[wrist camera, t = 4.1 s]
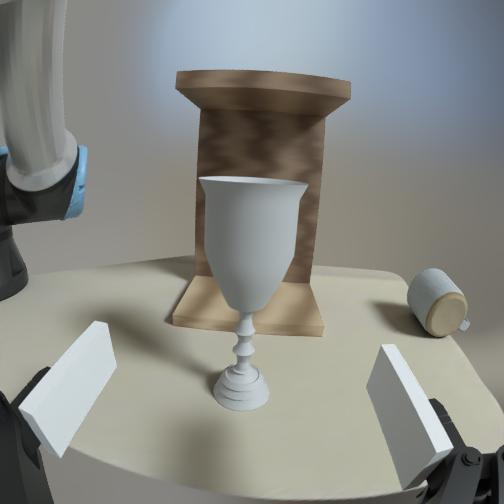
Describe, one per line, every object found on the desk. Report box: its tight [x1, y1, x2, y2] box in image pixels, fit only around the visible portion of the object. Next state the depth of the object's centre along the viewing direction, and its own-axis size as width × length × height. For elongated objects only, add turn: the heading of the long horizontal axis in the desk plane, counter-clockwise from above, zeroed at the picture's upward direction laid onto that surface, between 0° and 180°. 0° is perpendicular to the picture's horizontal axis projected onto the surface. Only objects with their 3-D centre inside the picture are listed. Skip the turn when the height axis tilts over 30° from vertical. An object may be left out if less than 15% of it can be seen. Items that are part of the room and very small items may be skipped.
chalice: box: [199, 176, 309, 411], centre depth 21 cm, size 7×7×18 cm
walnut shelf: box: [172, 70, 351, 336], centre depth 36 cm, size 18×14×29 cm
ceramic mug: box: [407, 268, 470, 337], centre depth 34 cm, size 11×8×8 cm
